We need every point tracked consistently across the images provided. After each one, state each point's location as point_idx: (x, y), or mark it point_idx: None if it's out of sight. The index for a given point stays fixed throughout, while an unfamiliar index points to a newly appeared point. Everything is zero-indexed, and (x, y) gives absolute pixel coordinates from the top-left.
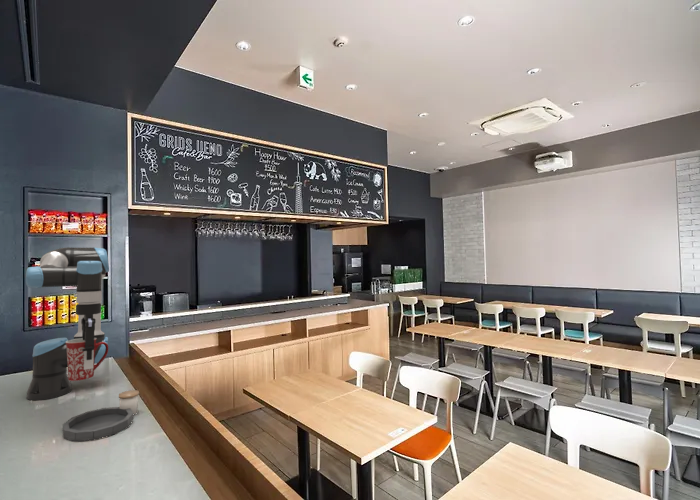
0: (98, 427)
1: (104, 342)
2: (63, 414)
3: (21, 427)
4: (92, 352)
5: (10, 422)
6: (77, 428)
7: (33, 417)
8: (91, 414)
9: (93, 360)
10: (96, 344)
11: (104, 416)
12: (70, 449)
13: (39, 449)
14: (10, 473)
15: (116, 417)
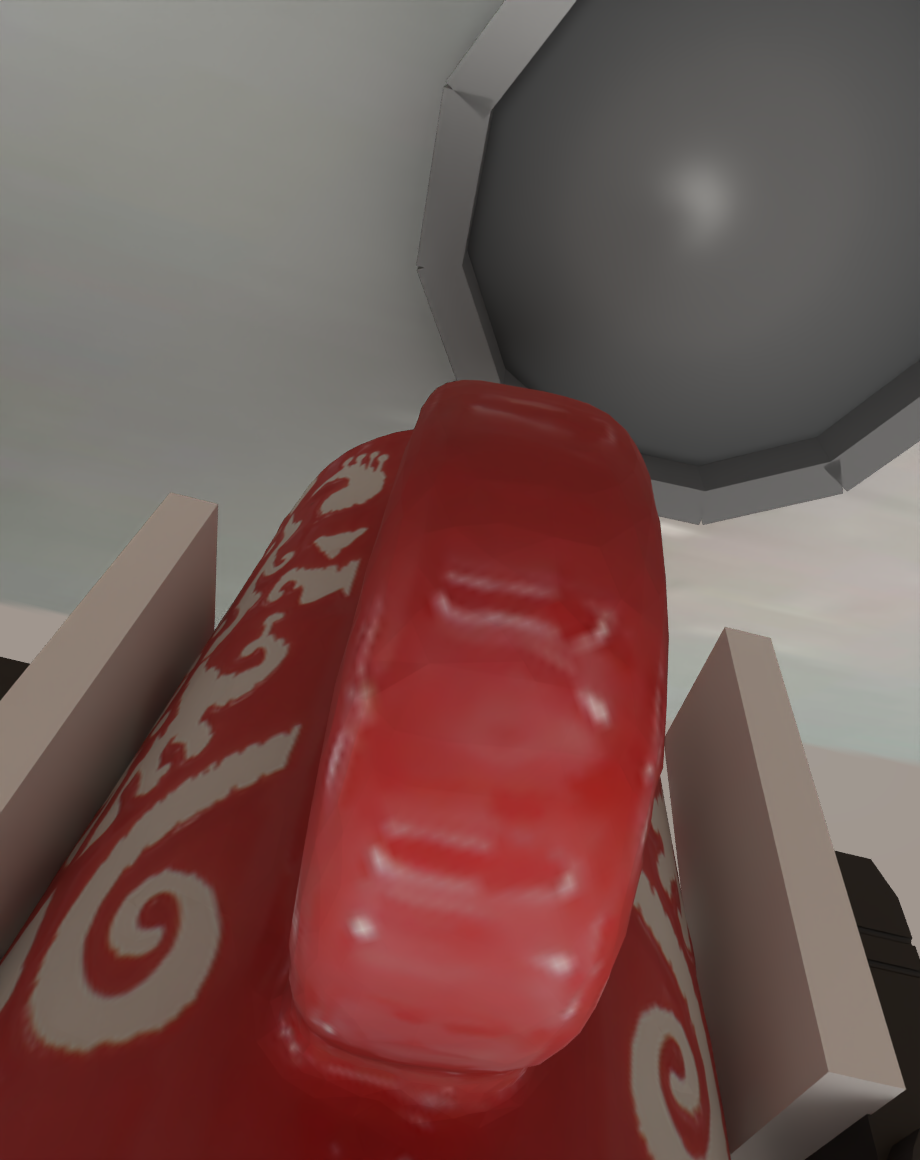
0: (791, 268)
1: (548, 917)
2: (124, 335)
3: (218, 580)
4: (856, 1006)
5: (68, 596)
6: (634, 391)
7: (53, 493)
8: (469, 231)
9: (807, 772)
10: (524, 1074)
11: (557, 114)
12: (913, 508)
13: (706, 607)
14: (870, 741)
15: (712, 23)
